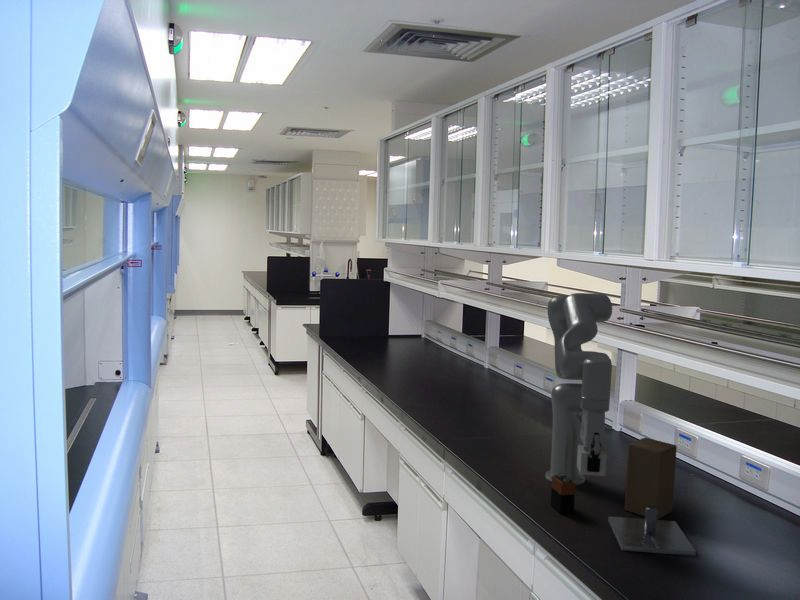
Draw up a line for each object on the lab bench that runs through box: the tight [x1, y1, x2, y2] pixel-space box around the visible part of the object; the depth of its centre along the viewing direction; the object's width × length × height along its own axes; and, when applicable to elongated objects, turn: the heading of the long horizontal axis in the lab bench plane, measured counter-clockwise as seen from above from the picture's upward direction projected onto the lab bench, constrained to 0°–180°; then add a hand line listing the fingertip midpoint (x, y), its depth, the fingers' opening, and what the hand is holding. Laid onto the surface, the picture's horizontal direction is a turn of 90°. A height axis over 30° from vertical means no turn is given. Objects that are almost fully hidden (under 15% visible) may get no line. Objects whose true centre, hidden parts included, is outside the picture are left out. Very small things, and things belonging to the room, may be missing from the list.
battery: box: [550, 473, 576, 515], centre depth 199 cm, size 4×7×10 cm, turn 13°
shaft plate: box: [607, 506, 697, 557], centre depth 182 cm, size 18×18×8 cm
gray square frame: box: [577, 444, 608, 477], centre depth 189 cm, size 7×7×6 cm
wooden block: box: [624, 437, 678, 520], centre depth 199 cm, size 10×10×20 cm
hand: (591, 466), depth 189 cm, fingers closed on gray square frame, 6 cm apart
